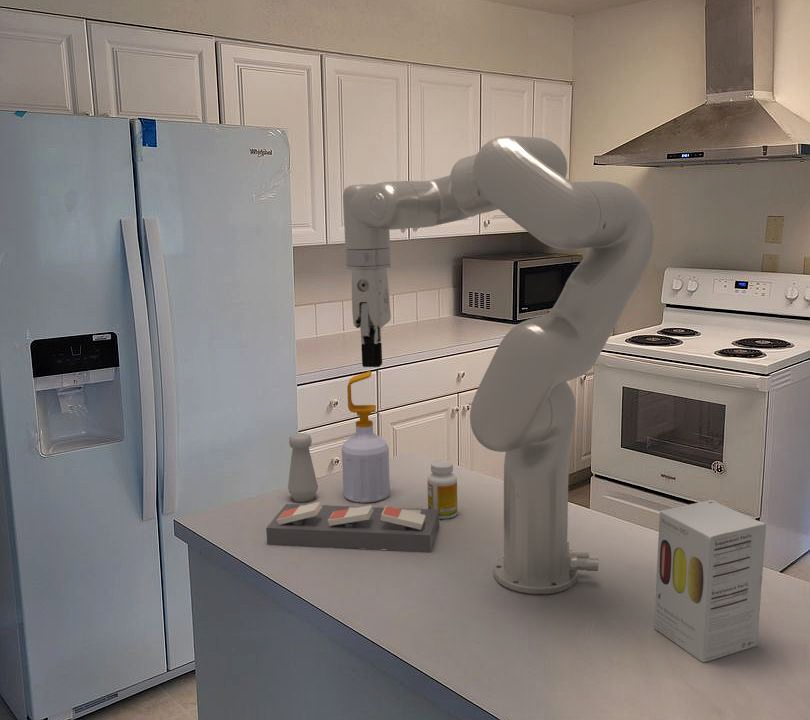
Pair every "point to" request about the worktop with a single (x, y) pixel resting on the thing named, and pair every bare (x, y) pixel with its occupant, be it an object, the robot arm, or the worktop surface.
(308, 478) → the salt shaker
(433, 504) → the supplement bottle
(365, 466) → the soap bottle
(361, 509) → the rocker middle
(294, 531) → the rocker switch panel
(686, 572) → the supplement box
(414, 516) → the rocker near
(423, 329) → the worktop surface
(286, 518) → the rocker far
